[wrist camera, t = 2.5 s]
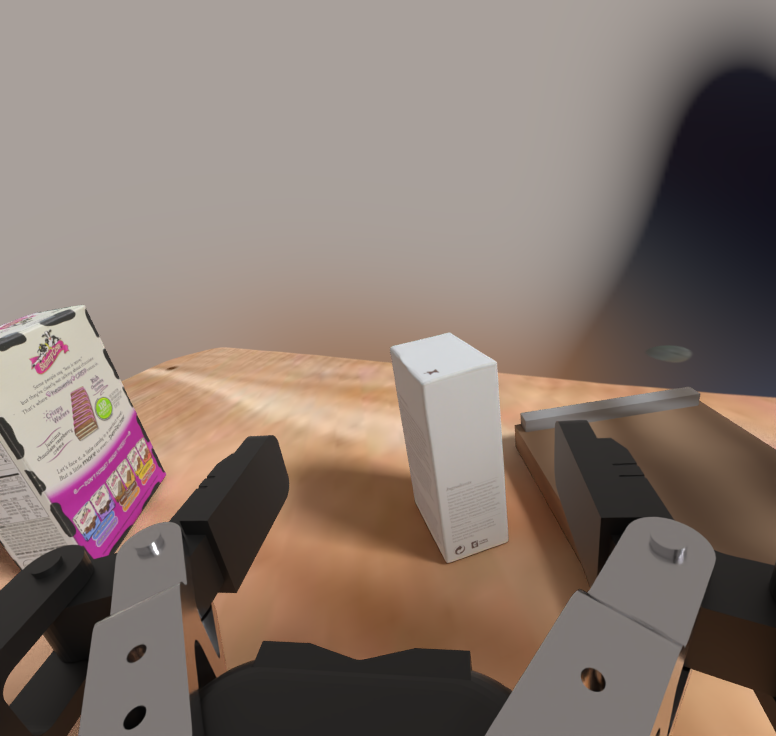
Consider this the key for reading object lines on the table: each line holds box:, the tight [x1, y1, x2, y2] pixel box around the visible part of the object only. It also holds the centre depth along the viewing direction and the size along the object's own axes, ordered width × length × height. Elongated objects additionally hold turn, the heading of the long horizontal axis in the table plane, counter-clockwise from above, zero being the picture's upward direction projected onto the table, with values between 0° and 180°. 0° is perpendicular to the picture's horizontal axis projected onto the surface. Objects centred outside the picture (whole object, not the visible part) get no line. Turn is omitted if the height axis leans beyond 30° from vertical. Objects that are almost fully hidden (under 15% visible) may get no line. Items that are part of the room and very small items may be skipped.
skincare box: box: [390, 333, 509, 563], centre depth 25 cm, size 6×4×12 cm
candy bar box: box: [0, 305, 166, 571], centre depth 30 cm, size 11×5×16 cm, turn 5°
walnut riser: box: [515, 387, 776, 565], centre depth 25 cm, size 14×16×3 cm
